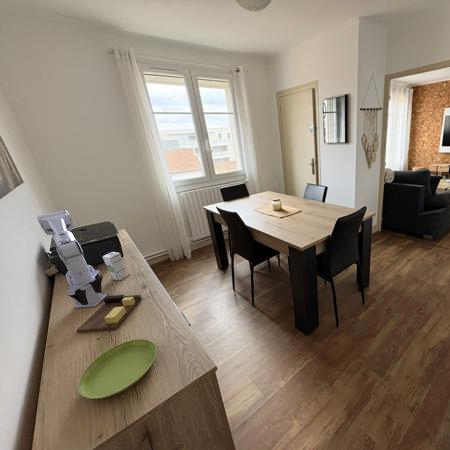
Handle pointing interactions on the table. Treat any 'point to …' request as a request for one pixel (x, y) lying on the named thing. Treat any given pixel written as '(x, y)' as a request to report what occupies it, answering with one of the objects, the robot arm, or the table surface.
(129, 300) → the butter slice
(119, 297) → the knife
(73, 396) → the table surface
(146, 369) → the saucer
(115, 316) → the butter block
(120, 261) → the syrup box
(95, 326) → the cutting board
